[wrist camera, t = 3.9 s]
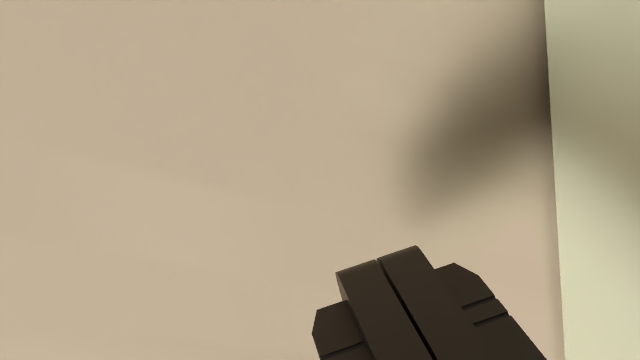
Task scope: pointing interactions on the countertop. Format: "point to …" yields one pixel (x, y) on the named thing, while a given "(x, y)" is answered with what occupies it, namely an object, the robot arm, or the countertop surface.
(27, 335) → the countertop surface
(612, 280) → the rack
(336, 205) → the countertop surface
